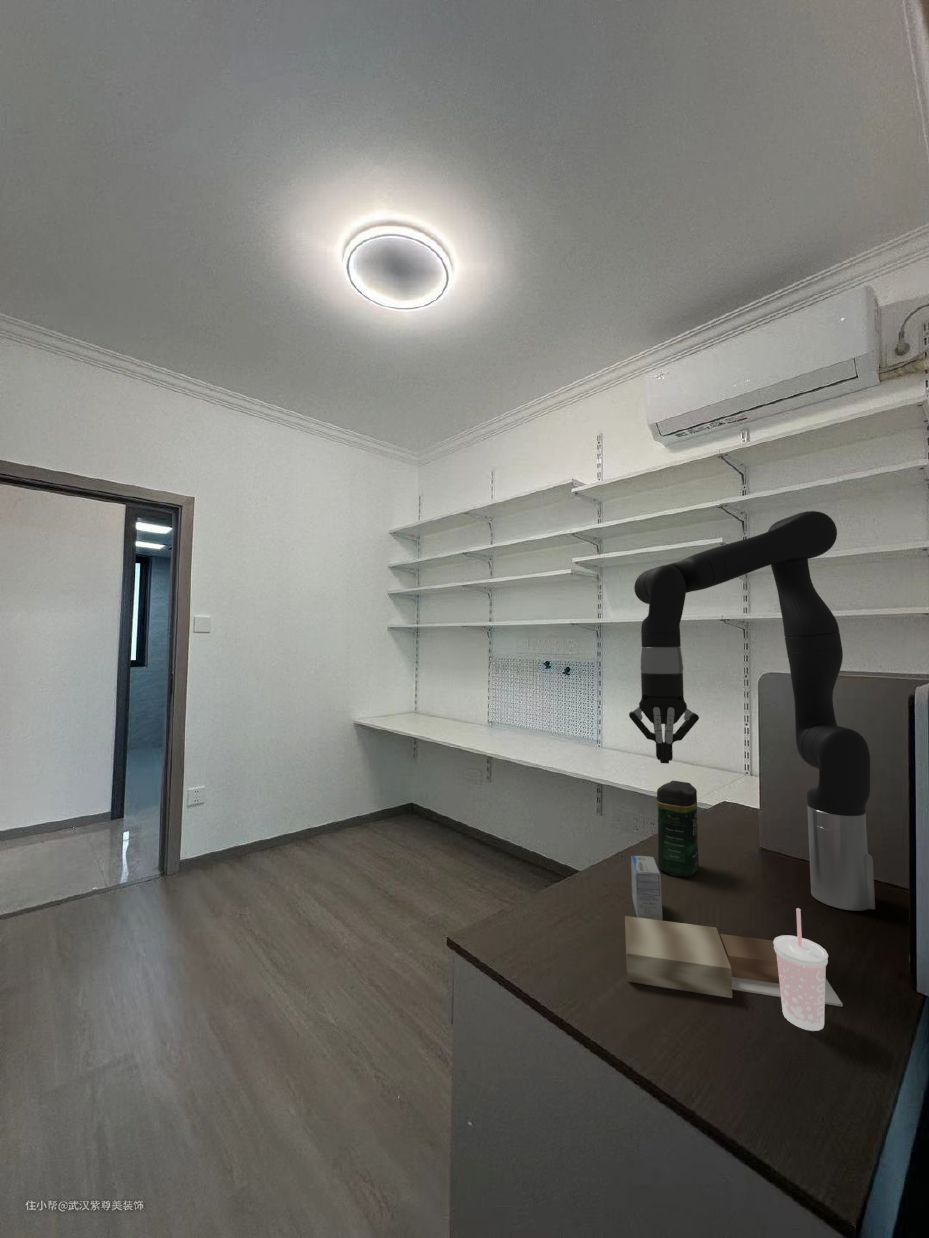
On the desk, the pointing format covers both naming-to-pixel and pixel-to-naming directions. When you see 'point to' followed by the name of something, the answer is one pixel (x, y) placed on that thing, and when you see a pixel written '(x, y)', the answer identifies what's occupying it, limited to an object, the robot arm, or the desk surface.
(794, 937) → the beverage cup
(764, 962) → the walnut tile
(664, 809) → the coffee jar
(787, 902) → the desk surface
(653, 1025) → the desk surface
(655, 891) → the medicine box
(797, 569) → the robot arm
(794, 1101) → the desk surface
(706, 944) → the tan flat block
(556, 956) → the desk surface
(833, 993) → the mat
